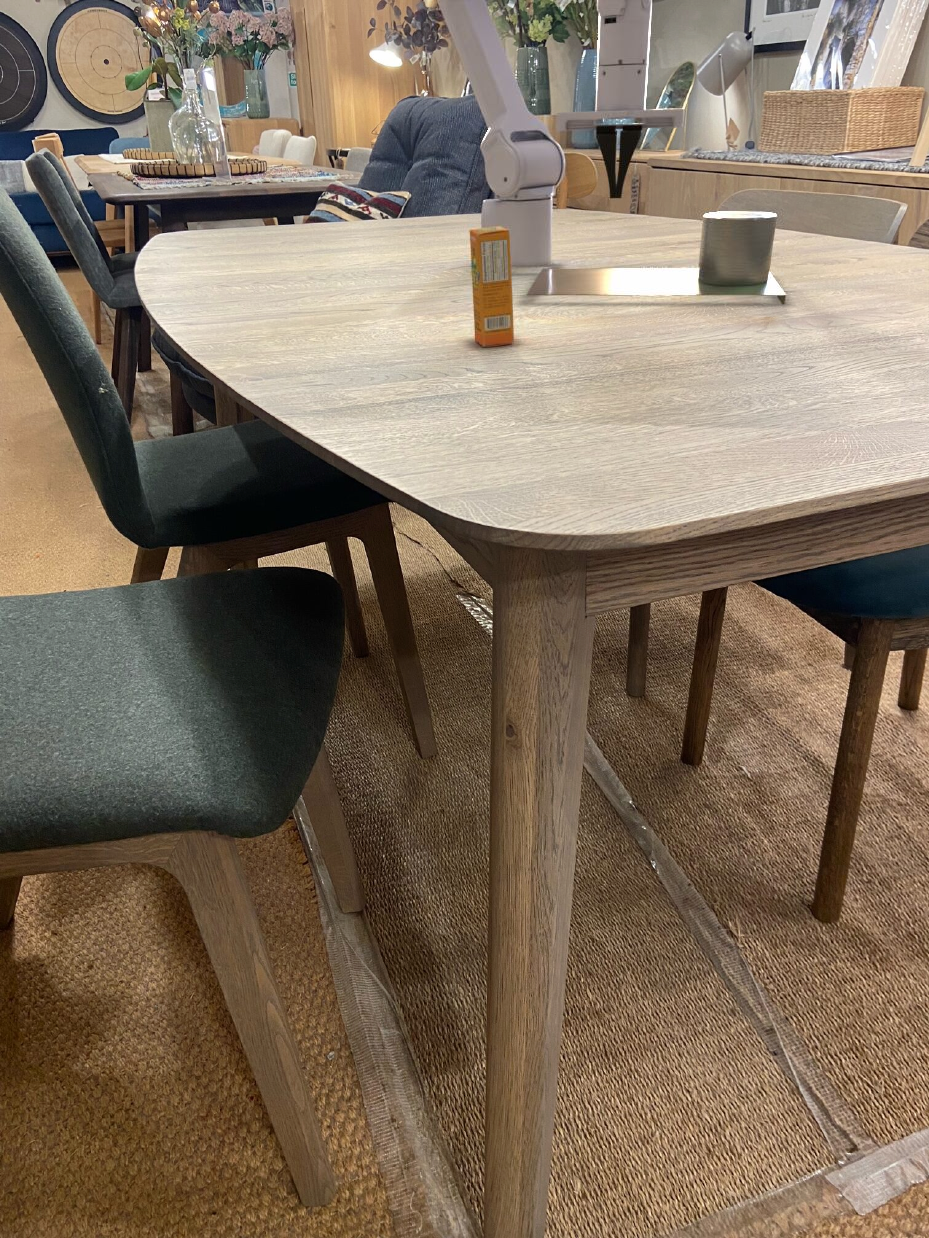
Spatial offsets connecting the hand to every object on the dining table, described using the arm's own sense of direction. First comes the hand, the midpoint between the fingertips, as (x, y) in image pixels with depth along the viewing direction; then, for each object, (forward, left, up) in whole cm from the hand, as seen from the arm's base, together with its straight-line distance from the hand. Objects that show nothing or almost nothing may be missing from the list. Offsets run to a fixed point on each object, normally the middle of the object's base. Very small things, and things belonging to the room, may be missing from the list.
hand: (615, 197), depth 107 cm
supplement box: (-10, -35, -10) cm, 38 cm away
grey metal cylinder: (+14, -7, -8) cm, 18 cm away
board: (+5, -7, -9) cm, 13 cm away
